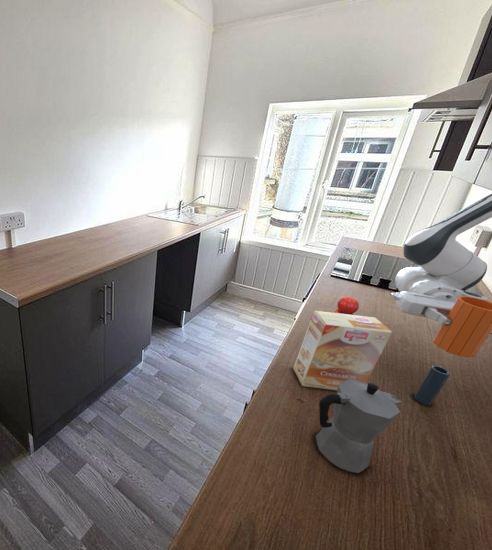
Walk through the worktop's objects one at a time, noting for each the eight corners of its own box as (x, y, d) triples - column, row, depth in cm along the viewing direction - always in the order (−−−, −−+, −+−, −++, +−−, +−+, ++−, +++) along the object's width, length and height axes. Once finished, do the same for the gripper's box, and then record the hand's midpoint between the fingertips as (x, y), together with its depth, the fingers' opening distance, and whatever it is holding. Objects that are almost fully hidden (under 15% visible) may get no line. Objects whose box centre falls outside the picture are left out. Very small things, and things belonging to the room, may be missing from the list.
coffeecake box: (302, 386, 78) (325, 324, 70) (291, 368, 84) (312, 309, 77) (362, 395, 76) (394, 331, 68) (347, 375, 83) (374, 316, 75)
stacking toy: (309, 344, 96) (327, 292, 88) (326, 339, 98) (346, 289, 91) (332, 359, 89) (354, 305, 82) (350, 354, 92) (373, 301, 84)
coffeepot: (353, 431, 66) (385, 367, 59) (389, 474, 57) (432, 405, 50) (287, 431, 65) (311, 367, 58) (314, 475, 56) (347, 406, 49)
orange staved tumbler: (482, 356, 67) (512, 310, 62) (459, 359, 65) (489, 312, 61) (447, 338, 73) (472, 295, 68) (426, 340, 72) (450, 296, 67)
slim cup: (434, 404, 75) (453, 373, 71) (424, 406, 74) (443, 375, 70) (420, 395, 77) (438, 364, 73) (410, 396, 77) (428, 366, 73)
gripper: (393, 281, 80) (419, 304, 68) (493, 297, 73) (540, 325, 61) (384, 302, 82) (407, 327, 70) (479, 319, 76) (522, 350, 64)
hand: (470, 326), depth 66 cm, fingers closed on orange staved tumbler, 7 cm apart
